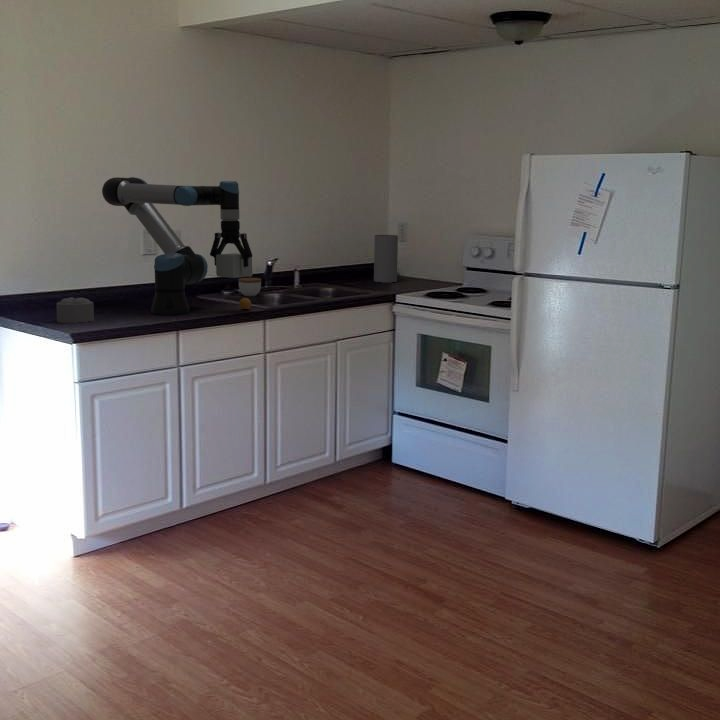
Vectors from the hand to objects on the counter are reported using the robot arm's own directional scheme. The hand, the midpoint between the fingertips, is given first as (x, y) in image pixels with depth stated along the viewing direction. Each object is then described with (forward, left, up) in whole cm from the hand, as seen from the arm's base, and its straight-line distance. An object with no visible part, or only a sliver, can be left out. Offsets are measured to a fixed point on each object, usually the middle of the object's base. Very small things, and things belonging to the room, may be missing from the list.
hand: (231, 274), depth 365 cm
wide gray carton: (+2, 0, -1) cm, 2 cm away
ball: (+8, +1, -13) cm, 15 cm away
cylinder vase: (+137, +22, -16) cm, 140 cm away
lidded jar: (+44, +33, -16) cm, 57 cm away
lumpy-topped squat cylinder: (-57, +26, -16) cm, 64 cm away
